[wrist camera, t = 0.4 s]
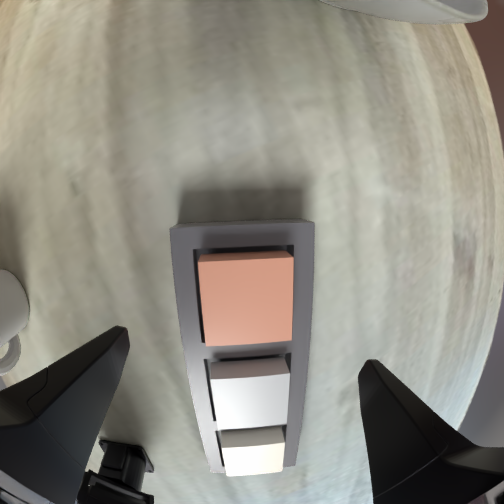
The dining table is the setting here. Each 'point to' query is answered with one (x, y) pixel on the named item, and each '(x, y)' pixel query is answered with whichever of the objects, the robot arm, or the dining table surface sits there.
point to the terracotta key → (246, 297)
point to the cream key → (253, 451)
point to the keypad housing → (200, 356)
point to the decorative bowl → (418, 10)
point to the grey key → (250, 392)
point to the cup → (11, 318)
